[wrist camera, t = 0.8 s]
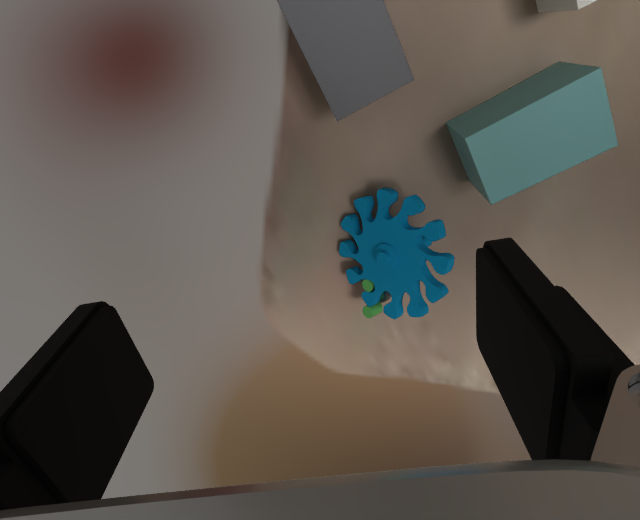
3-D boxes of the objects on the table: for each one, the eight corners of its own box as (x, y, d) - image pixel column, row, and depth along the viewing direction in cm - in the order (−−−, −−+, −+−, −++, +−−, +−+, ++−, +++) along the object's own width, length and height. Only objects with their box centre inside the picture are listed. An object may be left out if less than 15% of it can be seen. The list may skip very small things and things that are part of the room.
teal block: (558, 61, 27) (601, 67, 23) (575, 127, 29) (618, 145, 25) (445, 122, 29) (465, 138, 25) (469, 180, 32) (491, 204, 27)
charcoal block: (278, -10, 26) (267, -18, 21) (349, -57, 25) (353, -76, 20) (336, 107, 29) (337, 121, 25) (401, 71, 28) (414, 79, 24)
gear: (356, 164, 29) (470, 245, 25) (405, 156, 33) (511, 225, 28) (317, 277, 36) (400, 358, 31) (361, 260, 40) (442, 329, 35)
